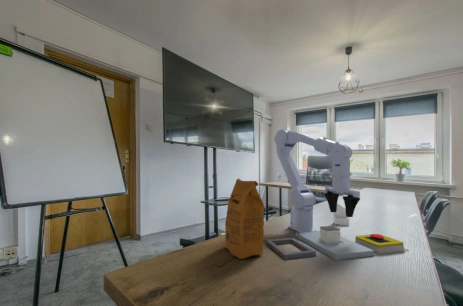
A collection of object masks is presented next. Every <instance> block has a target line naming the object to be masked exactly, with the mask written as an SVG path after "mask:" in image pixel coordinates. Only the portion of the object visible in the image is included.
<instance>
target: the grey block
mask: <svg viewBox="0 0 463 306" xmlns="http://www.w3.org/2000/svg"><path fill="white" fill-rule="evenodd" d="M319 229H320V230H319V231H320V240H321V241H323V242H325V243H327V244H336V243H340V236H341V228H339V227H336V226H334V225H327V226H325V225H324V226H319Z"/></svg>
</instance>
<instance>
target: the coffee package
mask: <svg viewBox="0 0 463 306" xmlns="http://www.w3.org/2000/svg"><path fill="white" fill-rule="evenodd" d="M258 183H259V182H258V181H256V180H242V179H240V178H237V179H236V181H235V184H234V185H233V188H232V191H231V194H230V196H229V199H228V202H227V210H226V217H225V224H224V226H225V227H224V228H225V236H224V237H225V238H224V239H225V241H224V242H225V244H224V248H225V249H227V250H228V251H229V253H230V255H231V256H233V257H236V258H238V259H239V260H244V259H247V258H249V257H252V256H258V255H261V254H263V253H264V236H265V235H264V234H265V232H264V227H265V226H264V225H265V216H264V215H265V205H264V202H263V200H262V197H261V196H260V193H259V192H258V189H257V187H258V186H259V184H258Z"/></svg>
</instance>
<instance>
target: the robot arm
mask: <svg viewBox="0 0 463 306" xmlns="http://www.w3.org/2000/svg"><path fill="white" fill-rule="evenodd" d="M273 140H274V142H275V144H276V154H277V157H278V160H279V162H280V164H281V166H282V169H283V172H284V174H285V176H286V178H287V180H288V183H289V185H290V187H291V189H290V191H289V195H290V200H291V201H290V202H291V204H292V206H293V207H292V208H291V210H290V215H289V216H290V219H289V225H288V228H290V229H292V230H294V231H296V233H303V232H317V231H318V230H317V229H315V228H314V225H313V224H314V219H313V218H314V216H313V215H314V213H313V211H314V206H315V204H316V203H317V197H316V196H315V194H314V193H313V192H312V191H311V189H310V188H309V187H308V186H307V185H306V184H305V183H304V180H303V179H302V177H301V175H300V173H299V170H298V168H297V166H296V164H295V162H294V161H295V160H294V159H293V157H292V154H291V152H292V150H293V149H294V147H295V146H296V145H297V143H298V144H299V143H302V144H306V145H309V146H312V147H313V149H314V151H315V152H318V153H320V154H323V155H326V156H328V157H330V158H331V160H332V161H331V164H332V167H331V169H332V171H331V172H332V173H331V174H332V176H331V177H332V178H331V180H332V184H331V185H332V186H324V193H323V196H324V197H325V199H326V202H327V204H328V207H329V212H330V213H333V212H336V210H337V204H338V199H339V196H340V195H343V196H342V199H343V202H344V208H345V209H346V217H348V218H353V217H354V212H355V210H356V208H357V205H358V203H359V202H360V201H361V191H359V190H354V189H351V187H350V186H351V183H350V182H351V178H350V176H351V175H350V174H351V173H350V171H351V170H350V167H351V164H350V161H351V160H350V159H351V157H352V155H353V150H352V148H351V147H350V146H349V145H347V144H340V141H336V140H335V141H333V140H331V139H330V140H329V137H325V136H323V137H318V138H315V137H311V136H310V135H307V134H305V133H302V132H298V131H292V130H285V129H279V130H278V131H277V132H276V133H275V136H274V139H273Z"/></svg>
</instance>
